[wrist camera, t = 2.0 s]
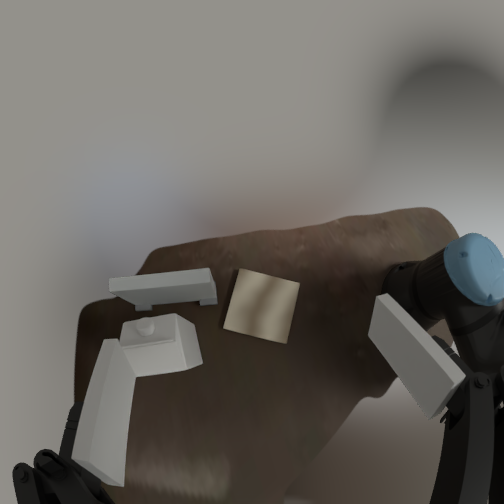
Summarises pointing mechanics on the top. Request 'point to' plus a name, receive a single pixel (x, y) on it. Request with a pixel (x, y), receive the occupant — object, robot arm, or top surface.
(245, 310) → the birch board
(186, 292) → the grey screen
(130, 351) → the milk carton
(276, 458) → the top surface
